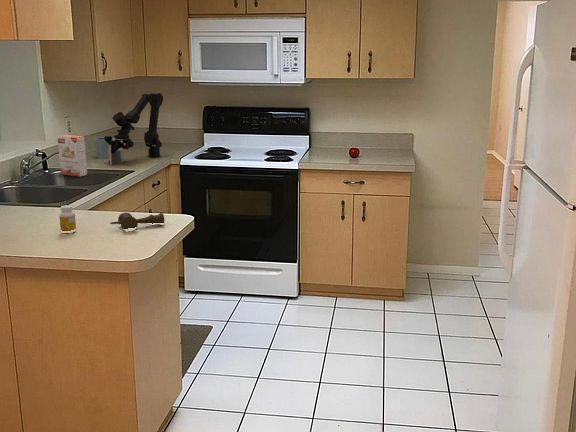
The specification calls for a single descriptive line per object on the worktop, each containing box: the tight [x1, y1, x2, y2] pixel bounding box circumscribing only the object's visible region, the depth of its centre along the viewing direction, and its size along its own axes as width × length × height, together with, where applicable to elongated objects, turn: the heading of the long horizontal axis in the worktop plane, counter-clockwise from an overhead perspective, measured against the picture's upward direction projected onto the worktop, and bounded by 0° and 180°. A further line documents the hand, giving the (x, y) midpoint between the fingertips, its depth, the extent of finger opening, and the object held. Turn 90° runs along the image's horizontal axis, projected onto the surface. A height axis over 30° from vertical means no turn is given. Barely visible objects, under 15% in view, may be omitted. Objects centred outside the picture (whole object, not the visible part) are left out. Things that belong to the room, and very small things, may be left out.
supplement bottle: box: [58, 204, 77, 231], centre depth 230 cm, size 5×5×10 cm
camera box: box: [107, 148, 125, 164], centre depth 377 cm, size 8×7×8 cm
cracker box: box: [57, 134, 88, 178], centre depth 335 cm, size 14×6×21 cm, turn 62°
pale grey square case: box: [108, 146, 113, 166], centre depth 368 cm, size 10×2×10 cm, turn 14°
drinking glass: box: [93, 136, 111, 160], centre depth 391 cm, size 10×10×12 cm
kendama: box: [109, 212, 165, 230], centre depth 237 cm, size 6×10×20 cm
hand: (112, 153), depth 364 cm, fingers closed
